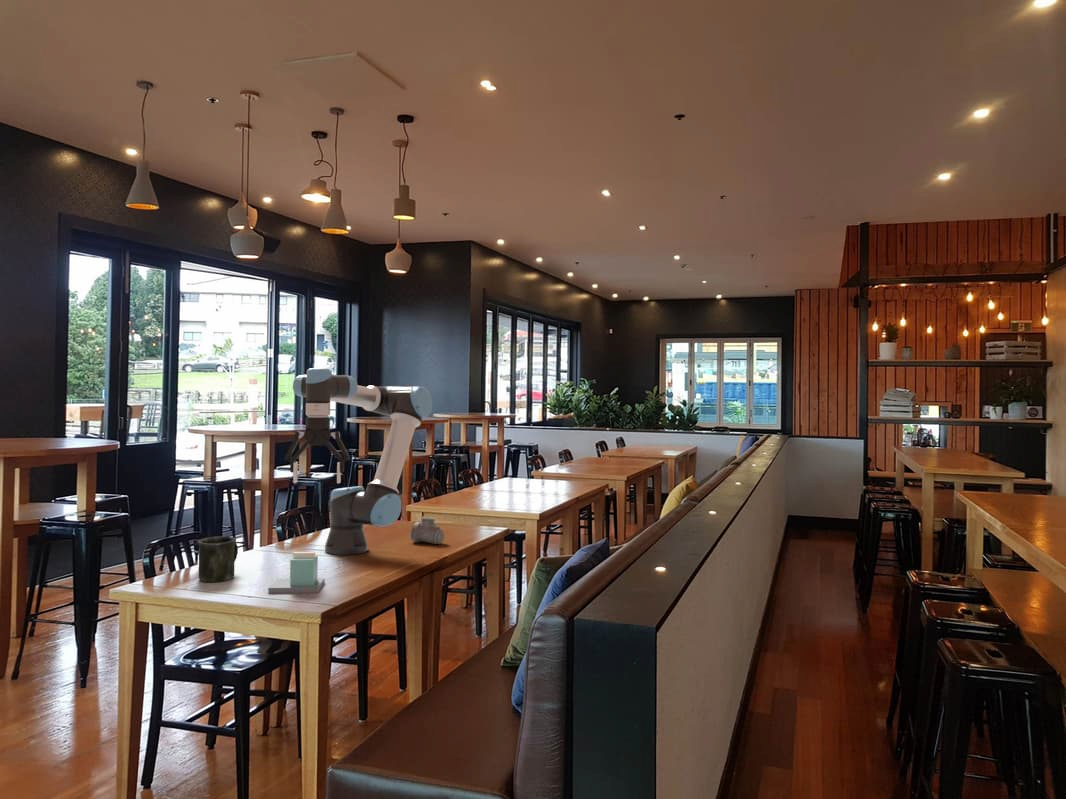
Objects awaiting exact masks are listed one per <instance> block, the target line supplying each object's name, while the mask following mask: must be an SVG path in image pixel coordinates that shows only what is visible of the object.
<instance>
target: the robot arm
mask: <svg viewBox="0 0 1066 799" xmlns="http://www.w3.org/2000/svg"><path fill="white" fill-rule="evenodd" d="M292 391H293V393H294V395H296V396H297V397H300V398H305V415H306V416H307V417H306V418H305V430H304V432H303V431H299V430H298V431H295V433H294V439H293V440H292V443H291V445H290V446H289V447H288V450H287V452H286V454H285V456H284V458H283V459H284V461H287V462H289V466H290V467H289V471H290V473H293V476H292V477H293V481H292V482H293V484H297V483H298V479H299V478H298V477H299V474H298V471H299V470H298V469H299V468H298V467H299V463H298V461H296V460H297V459H298V458H299V457H300V456H301V455H302V454H303V453H304V451H306V449H307V448H309V446H313V447H314V446H319V447H320V446H321V447H323V446H324V445H325V447H326V448H328V450H329V451H330V452H331V453H332V454H333V456H334V457H335V458H336V459H337V460H338V462H337V463H336V464H337V465H336V484H341V482H342V481H341V480H342V479H341V477H342V476H341V474H342V473H345V462H347V461H349V460H350V459H351V457H350V455H349V453H348V451H347V448H346V447H345V445H344V443H343V441H342V437H341V432H340V431H335V432H331V418H330V417H329V416H330V415H331V402H335V403H339V404H344V405H350V406H351V405H352V406H354V407H355V406H356V407H361V408H362V409H363V410H364V411H367V412H372V413H376V414H379V415H380V414H381V415H383V416H388V417H390V419H391V420H392V422H391V426H390V430H389V432H388V435H387V438H386V441H385V445H384V447H383V450H382V453H381V457H380V460H379V463H378V465H377V466H378V467H377V469H376V472H375V475H374V478H373V480H372V481H370V482H368V483H367V486H366V489H365V488H364V486H363V485H362V486H361V485H360V486H350V487H349V486H347V487H340V488H334V489H333V490H332V491H331V492H330V500H329V502H330V503H329V504H330V505H329V506H330V507H329V511H330V512H329V514H330V515H329V517H330V518H329V519H330V521H329V522H330V526H329V528H330V529H329V532H328V536H327V538H326V541H325V545H324V553H326V554H329V555H338V556H339V555H341V556H347V555H348V556H349V555H359V554H363V553H365V552H367V551H368V550H369V549H368V548H369V544H368V540H367V537H366V535H365V531H364V525H367V526H374V527H388V526H391V525H393V524H394V523H395V522H396V521H397V520H398V519H399V517H400V514H401V512H402V506H403V505H402V500H401V498H400V496H399V495H400V492H399V490H398V484H399V481H400V478H401V475H402V471H403V468H404V465H405V461H406V458H407V455H408V451H409V449H410V445H411V443H412V439H413V436H414V432H415V430H416V429H417V428H418V427H420V426H421V425H422V424H421V423H422V421H423V419H427V418H428V417H429V416H430V415H431V414H432V411H433V398H432V396H431V393H430V392H429V391H428V389H427V388H425V387H424V386H417V385H412V386H410V385H409V386H407V385H406V386H405V385H402V386H401V385H389V386H386V385H385V386H383V385H382V386H375V385H368V386H363V385H358V382H357V380H356V379H355V377H353V376H351V375H346V374H341V375H340V374H339V375H338V374H333V375H332V374H331V370H330V368H318V367H317V368H315V367H314V368H313V367H312V368H308V369H307V370H306V374H300V375H297V376H296V377H295V378H294V380H293V382H292ZM303 437H304V439H305V440H306V441H305V442H304V443H303V444H302V445H301V447H300V448H299V449H298V450H297V451H296V453H295V454H293V453H294V451H295V449H296V447H297V446H298V443H299V442H300V439H302V438H303ZM331 437H332V438H333V439H335V442H336V444H337V445H338V447H339V449H340V451H341V453H342V455H341V454H340V452H339V451H338V450H337V449H336V447H335V446H334V445H333V444H332V443H331V441H330V438H331ZM292 454H293V455H292Z"/></svg>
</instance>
